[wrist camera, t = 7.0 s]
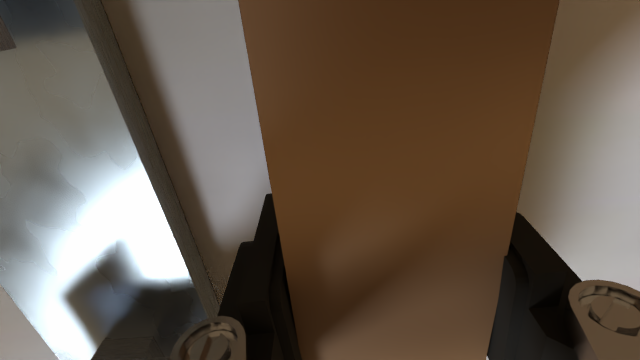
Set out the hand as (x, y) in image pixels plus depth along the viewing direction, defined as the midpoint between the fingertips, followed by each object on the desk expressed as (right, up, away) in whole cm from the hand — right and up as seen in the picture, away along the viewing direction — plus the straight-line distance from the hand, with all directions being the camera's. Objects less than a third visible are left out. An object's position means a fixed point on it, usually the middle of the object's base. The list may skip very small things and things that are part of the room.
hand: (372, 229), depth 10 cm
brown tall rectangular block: (0, 0, +1) cm, 1 cm away
